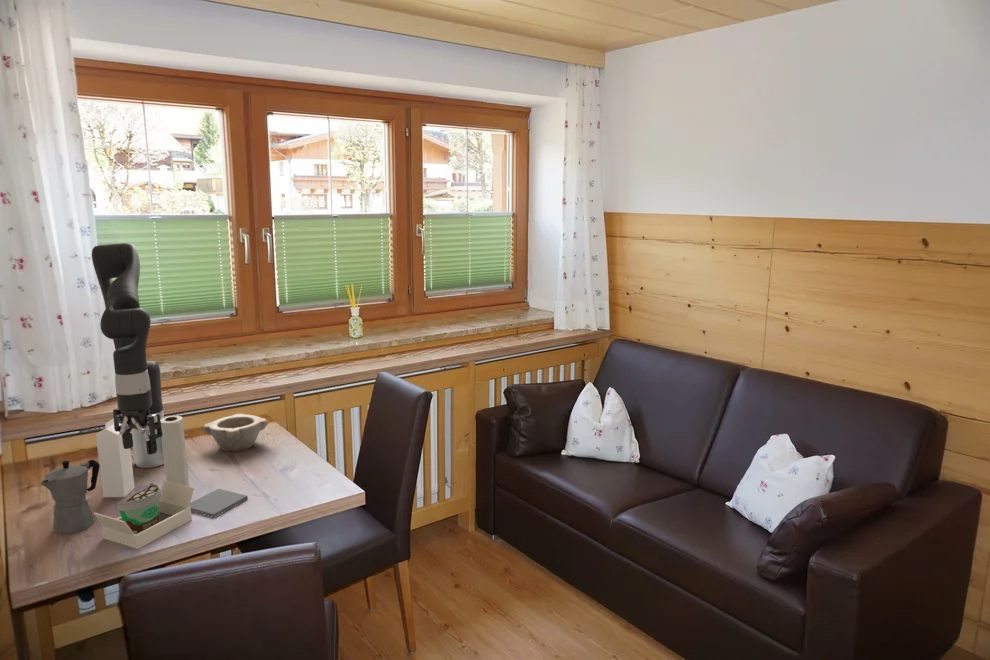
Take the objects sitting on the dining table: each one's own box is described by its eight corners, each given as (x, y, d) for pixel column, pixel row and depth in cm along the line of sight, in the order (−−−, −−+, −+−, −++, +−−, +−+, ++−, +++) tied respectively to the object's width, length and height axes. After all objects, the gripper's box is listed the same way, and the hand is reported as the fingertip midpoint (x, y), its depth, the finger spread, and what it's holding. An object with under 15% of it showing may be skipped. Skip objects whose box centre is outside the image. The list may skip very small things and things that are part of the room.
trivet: (184, 509, 183) (184, 505, 182) (218, 491, 193) (218, 488, 193) (214, 517, 178) (213, 514, 178) (247, 498, 189) (247, 495, 189)
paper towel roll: (169, 484, 198) (162, 416, 193) (191, 482, 199) (184, 414, 195) (163, 495, 191) (156, 424, 187) (186, 492, 192) (179, 422, 188)
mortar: (242, 434, 238) (240, 410, 236) (274, 443, 230) (272, 418, 228) (200, 449, 224) (197, 423, 222) (232, 460, 216) (230, 433, 214)
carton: (95, 542, 165) (91, 512, 164) (166, 507, 184) (163, 479, 182) (129, 553, 160) (125, 522, 159) (198, 516, 179) (195, 488, 177)
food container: (142, 542, 166) (138, 505, 164) (121, 539, 167) (116, 502, 165) (175, 518, 177) (171, 483, 175) (154, 516, 179) (151, 481, 177)
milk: (134, 488, 195) (127, 416, 191) (124, 497, 190) (116, 423, 185) (113, 488, 195) (105, 416, 191) (102, 497, 189) (94, 423, 185)
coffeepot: (62, 541, 166) (53, 474, 162) (36, 534, 169) (26, 468, 165) (117, 514, 180) (109, 451, 176) (92, 508, 183) (84, 446, 179)
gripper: (99, 389, 164) (107, 451, 167) (139, 396, 158) (147, 461, 161) (127, 381, 171) (134, 441, 174) (166, 388, 165) (173, 450, 168)
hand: (140, 450), depth 168 cm, fingers open, 8 cm apart
